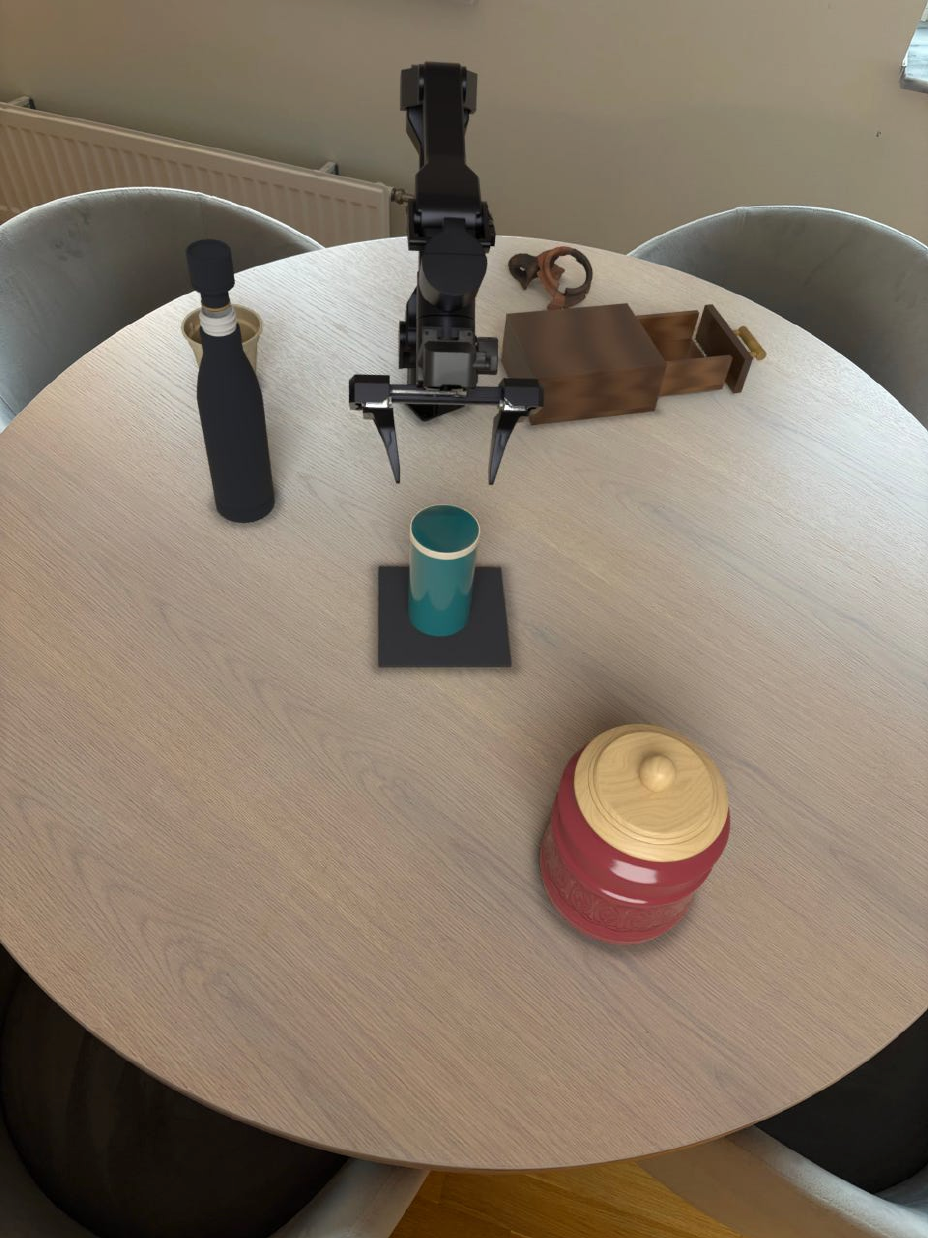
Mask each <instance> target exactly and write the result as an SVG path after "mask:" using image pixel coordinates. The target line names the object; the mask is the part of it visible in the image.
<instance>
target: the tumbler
mask: <svg viewBox="0 0 928 1238" xmlns="http://www.w3.org/2000/svg"><path fill="white" fill-rule="evenodd" d="M480 535H481V527H480V523H479V521H478V519H477V518H476V516H474V515H473V513H472V512H470V511H469V510H467V509H465V508H463V507H461V506H459V505H455V504H450V503H449V504H448V503H437V504H432V505H428V506H426V507H424V508H422V509H420V510H418V511H417V512H416V513H415V514H414V516H413V517H412V518H411V520H410V524H409V550H408V551H409V553H408V567H409V576H408V603H407V614H408V618H409V620H410V622H411V623H412V625H413V626H414V627H415V628H416V629H418V630H419V631H421V632H423V633H425V634H428V635H431V636H448V635H452V634H455V633H457V632H459V631H460V630H461V629H463V628H464V627H465V626H466V624H467V623H468V621H469V618H470V610H471V602H472V593H473V584H474V576H475V567H476V566H477V559H478V549H479V542H480Z"/></svg>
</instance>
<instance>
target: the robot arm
mask: <svg viewBox="0 0 928 1238" xmlns="http://www.w3.org/2000/svg"><path fill="white" fill-rule="evenodd" d="M478 77H479V74H478V73H476V72H474V71H471V70H469V69H467V66H466V65H462V64H461V63H460V62H450V61H449V62H448V61H431V60H425V61H424V62H423V63H418V64H414V63H413V64H411V65H410V67H409V68H404V69H401V70H400V77H399V111H400V112H405V133H406V135H407V137H408V139H409V140H410V142H411V144H412V146H413V147H414V149H415V151H416V152H417V154H418V171H417V172H416V173H415V176H414V195H413V197H408V198H407V203H406V204H407V206H406V235H407V236H406V239H407V250H408V252H417V253H418V254H417V255H418V257H417V258H418V259H417V261H418V262H417V263H418V264H417V265H418V266H417V269H418V270H417V272H416V286H415V287H414V289H413V291H412V293H411V295H410V296H409V298H408V300H407V301H406V304H405V309H404V320H399V321H398V329H397V330H398V335H397V336H398V337H397V339H398V341H397V342H398V343H397V344H398V345H397V348H398V349H397V352H398V353H397V355H398V369H399V370H403V369H406V384H405V383H404V384H403V383H400V384H399V383H391V375H390V374H365V373H364V374H363V373H359V374H358V373H355V374H353V375H352V376H351V377H350V378H349V379H348V405H349V410H350V411H356V412H357V411H360V412H362V419H363V420H366V421H367V420H368V421H373V424H374V425H375V427H376V430H377V432H378V435H379V437H380V438H381V441H382V443H383V445H384V448H385V452H386V455H387V457H388V458H387V459H388V461H389V465H390V469H391V472H392V475H393V478H394V481H395V484H397V485H398V484H399V485H400V484H401V462H400V455H399V447H398V438H397V431H396V422H395V413H394V407H392V405H393V404H404V405H405V406H406V408H408V409H409V410H410V411H411V412H412V413H413V414H414V415H415V416H416V417H417V418H418V419H419V420H420V421H421V422H428V421H431V420H433V419H436V418H438V417H441V416H443V415H447V414H449V413H451V412H454V411H457V410H459V409H463V408H465V406H491V407H493V406H494V407H496V409H497V410H498V412H497V414H496V415H495V416H494V417H493V421H492V430H491V439H490V448H489V458H488V466H487V477H488V478H487V480H488V482H487V483H488V486H493V485H494V483H495V481H496V477H497V475H498V472H499V469H500V467H501V466H500V465H501V462H502V459H503V456H504V453H505V451H506V448H507V445H508V443H509V440H510V438H511V435H512V433H513V431H514V429H515V427H516V426H517V424H520V423H523V422H525V421H526V420H528V418H529V416H530V414H536V413H537V412H538V411H540V410H541V409H542V408H543V407H544V387H543V384H542V383H541V382H540V381H539V379H525V378H509V377H503V378H502V379H501V381H500V382H499V383H498V384H497V386H489V385H488V386H486V385H478V383H479V375H480V376H481V375H483V376H484V375H485V376H496V375H497V374H498V368H499V338H498V337H497V336H495V337H494V336H477V334H476V299H477V296H478V293H479V291H480V288H481V286H482V284H483V282H484V279H485V276H486V274H487V269H488V257H487V254H489V253H490V250H491V249H492V248H494V247H496V236H497V233H496V227H495V222H494V217H493V214H492V212H491V211H490V209H489V205H488V201H485V200H482V192H481V191H482V190H481V183H480V177H479V176H478V174H476V173H475V171H473V169H472V168H470V167H469V166H468V165H467V155H466V135H467V130H468V125H469V123H470V115H474V114H475V113H476V112H477V105H478V104H477V103H478V102H477V101H478ZM491 247H492V248H491ZM458 392H462V393H465V394H458Z"/></svg>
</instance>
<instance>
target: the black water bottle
mask: <svg viewBox="0 0 928 1238" xmlns="http://www.w3.org/2000/svg"><path fill="white" fill-rule="evenodd" d="M231 249H232V248H231V247H230V246H229V244H228V243H226V242H225V241H222V240H220V239H216V238H212V239H211V238H204V239H203V238H201V239H198V240H195V241H193V242H191V243H190V244H189V245H187V246H186V249H185V250H184V251H185V258H186V264H187V268H188V275H189V281H190V287H191V288H192V290H193V291H195V292H196V293H198V294H199V295H200V304H201V307H200V308H201V309H200V313H199V318H200V324H201V325H200V328H199V332H200V338H201V344H202V350H203V355H202V359H201V363H200V368H199V367H198V373H197V380H196V401H197V409H198V414H199V419H200V425H201V430H202V436H203V442H204V448H205V452H206V459H207V463H208V464H207V465H208V469H209V474H210V480H211V485H212V491H213V497H214V503H215V508H216V511H217V512H218V515H220V517H223V518H224V519H225V520H227V521H230V522H232V523H239V524H247V523H254V522H257V521H259V520H263V519H264V518H265V517H266V516H268V515H269V514H270V513H271V512H272V511H273V509H274V507H275V502H276V500H275V493H274V482H273V473H272V466H271V458H270V449H269V441H268V432H267V421H266V414H265V413H266V412H265V405H264V396H263V392H262V388H261V385H260V382H259V379H258V376H257V373H256V374H255V371H254V369H253V367H252V365H251V363H250V361H249V360H248V358H247V356H246V354H245V352H244V351H243V346H242V338H241V330H240V325H239V324H238V323H237V319H236V312H235V310H234V309H233V306H232V305H231V303H232V302H231V298H230V294H229V292H230V291H231V290H232V289H233V288H234V287H235V284H236V279H235V272H234V265H233V255H232V250H231Z"/></svg>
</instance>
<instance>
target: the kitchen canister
mask: <svg viewBox="0 0 928 1238" xmlns="http://www.w3.org/2000/svg"><path fill="white" fill-rule="evenodd" d="M550 814H551V816H550V821H549V823H548V825H547V827H546V830H545V832H544V834H543V837H542V841H541V845H540V850H539V851H540V852H539V866H540V874H541V878H542V879H541V880H542V883H543V886H544V890H545V893H546V895H547V897H548V899H549V901H550V902H551V904H552V906H553V907H554V909H555V910H556V911H557V913H558V914H559V915H560V916H561V917H562V919H563V920H564V921H565V922H567V924H568V925H570V926H571V927H572V928H573V929H575V930H576V931H578V932H579V933H581V934H583V935H585V936H587V937H588V938H591V939H592V940H593V939H594V940H596V941H599V942H601V943H602V942H603V943H606V944H611V945H620V946H632V945H637V944H642V943H646V942H650V941H651V940H654V939H655V938H659V937H660V936H661V935H663V934H665V933H667V932H668V931H669V930H671V929H672V928H673V927H675V926H676V925H677V924H678V923H679V922H680V921H681V919H682V918H683V917H684V916H685V914H686V912H687V911H688V910H689V908H690V906H691V905H692V903H693V901H694V898H695V896H696V892H697V890H698V889H699V888H700V887H701V886H702V885H703V884H704V883H705V881H706V880H707V879H708V877H709V876H710V874H711V873H712V871H713V868H714V866H715V865H716V863H717V862H718V861H719V859H720V858H721V856H722V855H723V853H724V851H725V849H726V847H727V844H728V842H729V838H730V832H731V811H730V807H729V797H728V790H727V786H726V783H725V781H724V778H723V775H722V773H721V771H720V770H719V768H718V766H717V764H716V763H715V762H714V761H713V759H712V758H711V757H710V756H709V755H708V753H707V752H706V751H704V749H702V748H701V747H700V746H699V745H698V744H697V743H695V742H694V741H693V740H691V739H689V738H688V737H686V736H684V735H683V734H681V733H678V732H676V731H674V730H671V729H669V728H666V727H664V726H658V725H654V724H647V723H646V724H645V723H632V724H624V725H619V726H616V727H613V728H611V729H607V730H606V731H603V732H602V733H600V734H599V735H597V736H596V737H594V738H593V739H592V740H591V741H589V742H588V743H586V744H585V745H583V746H581V748H579V749H578V750H577V751H576V752H575V753H574V754H573V755H572V756H571V758H570V759H569V760H568V762H567V763H566V765H565V767H564V769H563V771H562V773H561V776H560V779H559V784H558V789H557V791H556V794H555V796H554V799H553V802H552V807H551V813H550Z"/></svg>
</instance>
